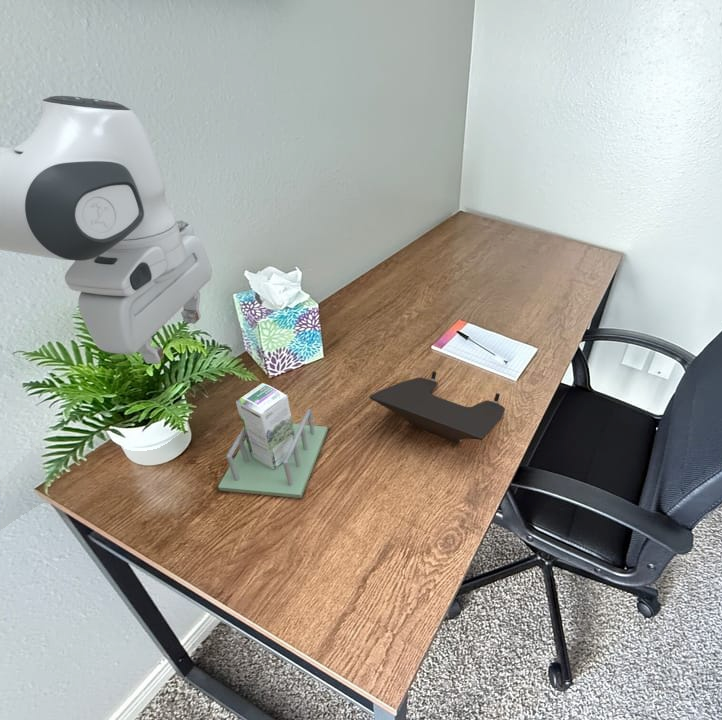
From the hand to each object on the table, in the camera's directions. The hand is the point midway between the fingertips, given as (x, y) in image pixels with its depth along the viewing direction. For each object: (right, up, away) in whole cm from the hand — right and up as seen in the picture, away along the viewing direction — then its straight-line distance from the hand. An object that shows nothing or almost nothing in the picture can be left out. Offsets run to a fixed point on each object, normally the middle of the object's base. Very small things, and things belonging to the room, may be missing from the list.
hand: (175, 339), depth 65 cm
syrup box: (+5, -20, +21) cm, 30 cm away
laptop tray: (+35, -16, +34) cm, 51 cm away
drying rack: (+5, -21, +21) cm, 30 cm away
